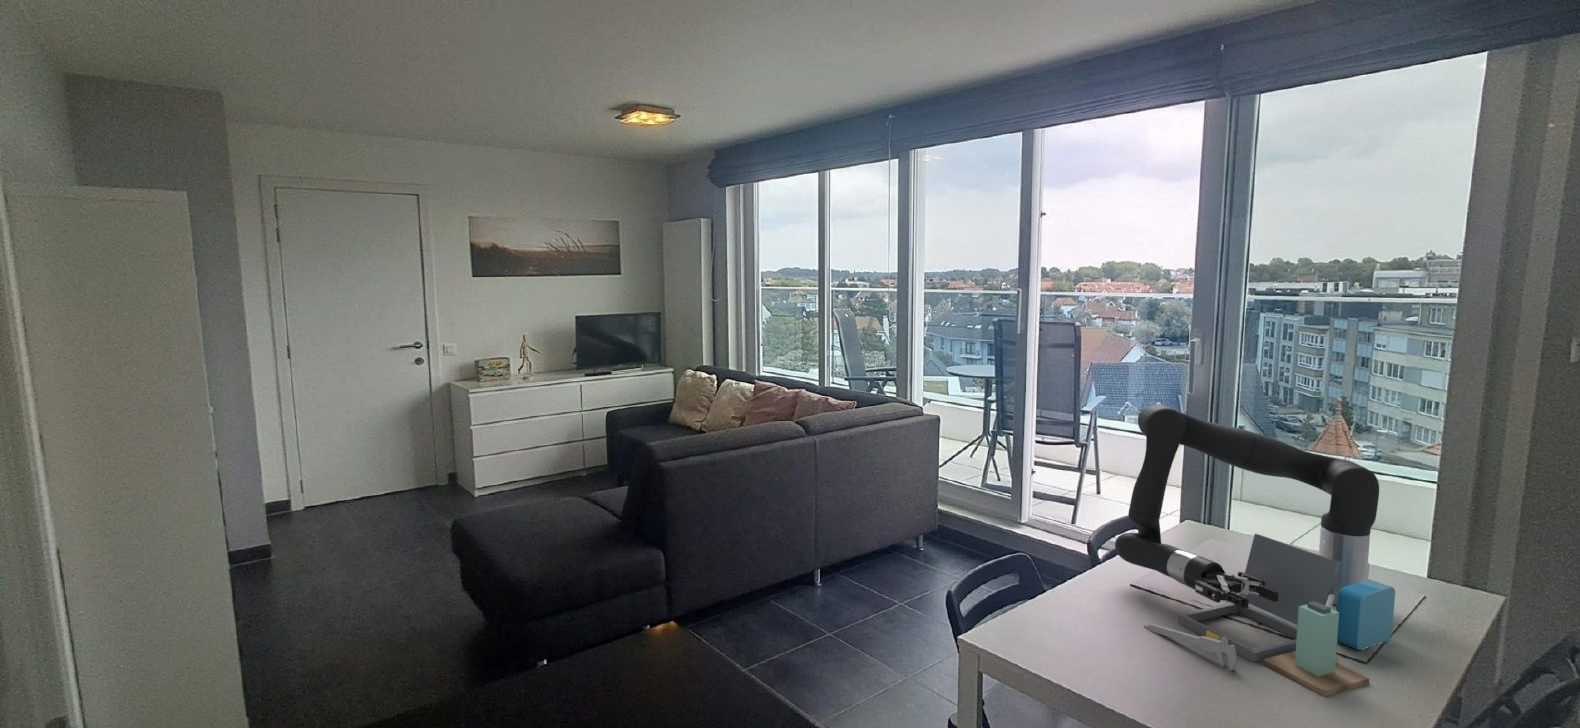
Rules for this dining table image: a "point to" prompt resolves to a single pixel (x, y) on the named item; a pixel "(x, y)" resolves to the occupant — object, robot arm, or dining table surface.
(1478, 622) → the dining table surface
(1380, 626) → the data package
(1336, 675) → the walnut board
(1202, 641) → the caliper
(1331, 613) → the block
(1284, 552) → the equipment case
